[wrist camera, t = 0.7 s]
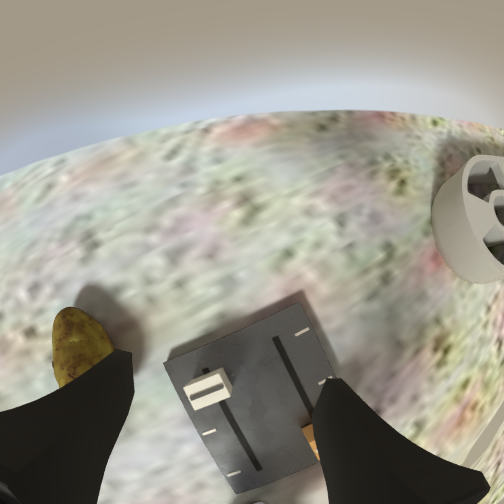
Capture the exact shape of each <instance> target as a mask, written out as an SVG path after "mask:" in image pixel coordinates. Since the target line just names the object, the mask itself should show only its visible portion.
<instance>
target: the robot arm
mask: <svg viewBox="0 0 504 504" xmlns="http://www.w3.org/2000/svg"><path fill="white" fill-rule="evenodd" d="M134 393H135V391H134V380H133V367H132V353H131V352H126V351H122V350H118V349H116V350H115V351H113V352H112V353H110V354H109V355H108V356H106V357H105V358H103V359H102V360H101V361H99V362H98V363H97V364H95V365H94V366H93V367H91V368H90V369H88V370H87V371H86V372H84V373H83V374H81V375H80V376H78V377H77V378H75V379H74V380H72V381H71V382H69V383H67V384H66V385H64V386H63V387H61V388H59V389H58V390H56V391H54V392H52V393H50V394H48V395H46V396H44V397H42V398H40V399H37V400H35V401H33V402H30V403H27V404H24V405H22V406H19V407H16V408H13V409H10V410H6V411H2V412H0V504H97V501H98V496H99V492H100V487H101V483H102V479H103V476H104V472H105V468H106V465H107V462H108V459H109V457H110V454H111V452H112V450H113V448H114V445H115V443H116V441H117V438H118V436H119V434H120V432H121V429H122V427H123V425H124V422H125V420H126V418H127V416H128V413H129V410H130V406H131V403H132V400H133V396H134ZM311 415H312V425H313V433H314V439H315V443H316V447H317V451H318V454H319V458H320V462H321V466H322V469H323V473H324V477H325V481H326V485H327V491H328V499H329V504H477V503H478V502H479V501H480V500H482V499H483V498H484V497H485V496H486V495H487V493H488V492H489V490H490V488H491V487H490V486H489V484H488V482H487V480H486V479H485V477H484V475H483V473H482V472H480V471H477V470H473V469H470V468H466V467H463V466H459V465H457V464H454V463H452V462H449V461H447V460H444V459H442V458H440V457H438V456H436V455H434V454H432V453H430V452H428V451H426V450H424V449H423V448H421V447H419V446H418V445H416V444H414V443H413V442H411V441H410V440H408V439H407V438H406V437H404V436H403V435H401V434H400V433H399V432H397V431H396V430H395V429H394V428H392V427H391V426H390V425H389V424H388V423H386V422H385V421H384V420H383V419H382V418H381V417H380V416H379V415H377V414H376V413H375V412H374V411H373V410H372V409H371V408H370V407H369V406H368V405H367V404H366V403H365V402H364V401H363V400H362V399H361V398H360V397H359V396H358V395H357V394H356V393H355V392H354V391H353V390H352V389H351V388H350V387H349V386H348V385H347V384H346V383H345V382H344V381H343V380H342V379H341V378H326V380H325V383H324V385H323V388H322V390H321V393H320V395H319V398H318V400H317V403H316V405H315V407H314V410H313V412H312V414H311ZM254 504H265V503H264V502H257V503H254Z"/></svg>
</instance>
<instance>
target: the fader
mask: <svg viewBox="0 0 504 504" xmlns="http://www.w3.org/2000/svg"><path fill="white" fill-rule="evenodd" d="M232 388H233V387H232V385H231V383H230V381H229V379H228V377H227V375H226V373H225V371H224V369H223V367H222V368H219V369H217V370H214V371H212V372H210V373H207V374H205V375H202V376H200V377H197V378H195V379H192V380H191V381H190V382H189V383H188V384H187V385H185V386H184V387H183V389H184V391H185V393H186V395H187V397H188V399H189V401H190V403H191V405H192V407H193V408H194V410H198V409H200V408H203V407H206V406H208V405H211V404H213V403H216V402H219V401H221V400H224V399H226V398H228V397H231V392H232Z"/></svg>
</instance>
